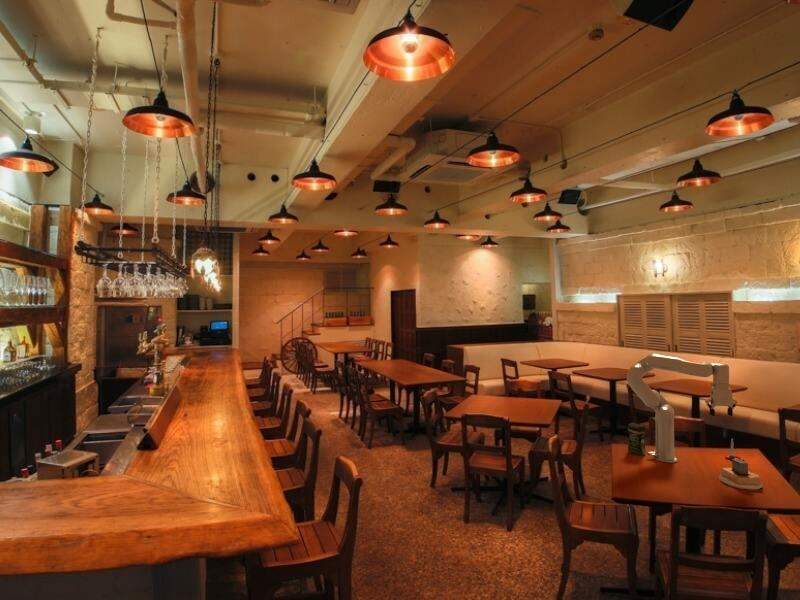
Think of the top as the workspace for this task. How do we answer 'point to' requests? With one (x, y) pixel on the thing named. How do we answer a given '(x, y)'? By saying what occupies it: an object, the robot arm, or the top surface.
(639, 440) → the coffee jar
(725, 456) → the tow hook
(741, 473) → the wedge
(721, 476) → the beige piece
